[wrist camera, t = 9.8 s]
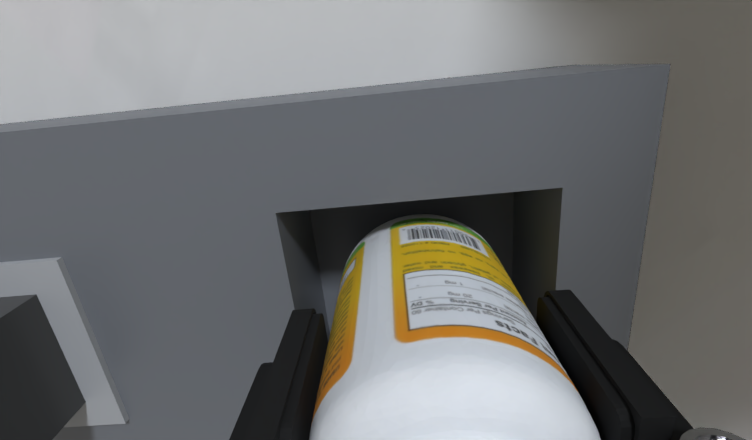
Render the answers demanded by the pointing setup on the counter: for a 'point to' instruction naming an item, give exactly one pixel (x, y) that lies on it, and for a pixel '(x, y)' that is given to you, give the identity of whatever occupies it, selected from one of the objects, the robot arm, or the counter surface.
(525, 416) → the supplement bottle
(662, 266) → the counter surface
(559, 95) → the control panel
